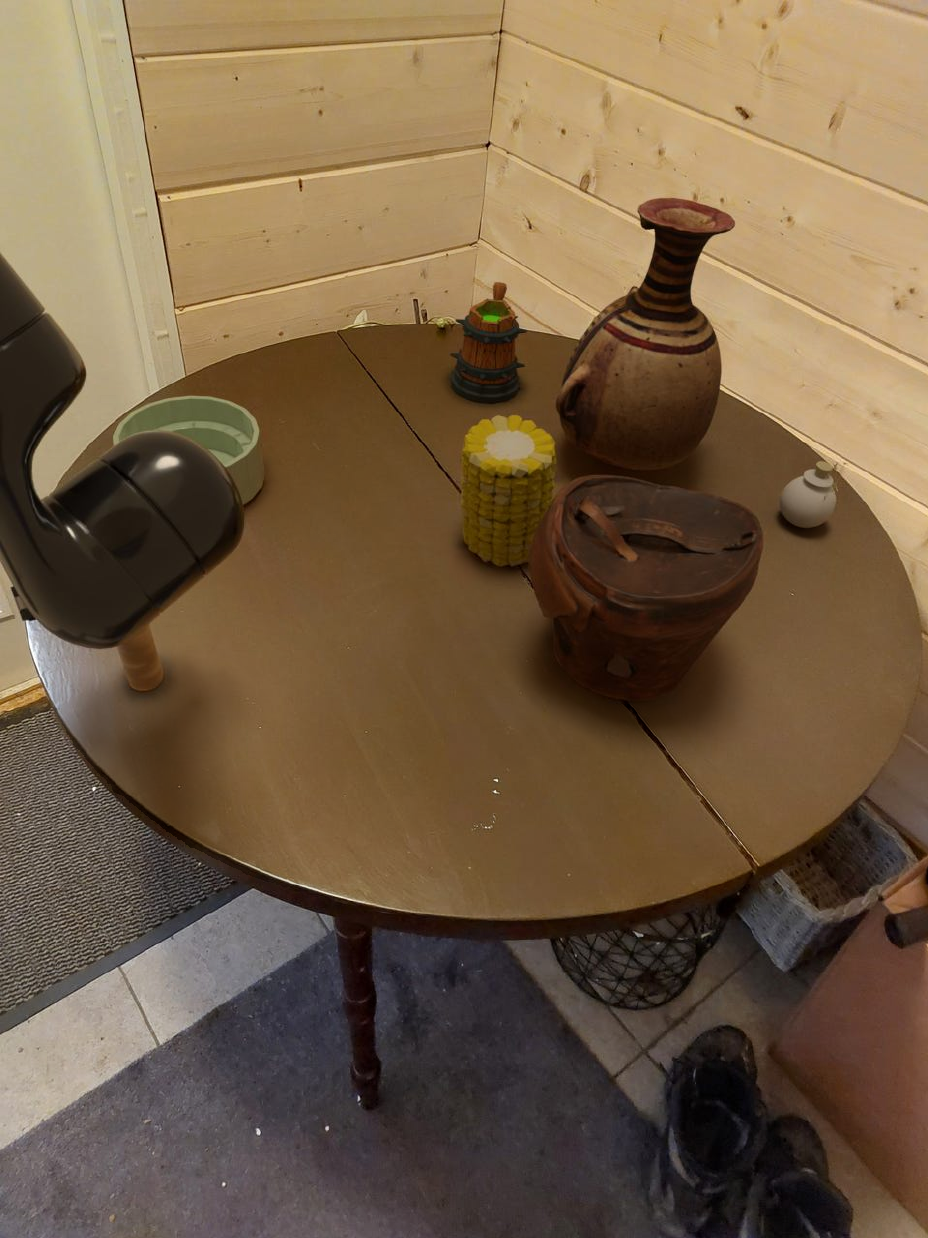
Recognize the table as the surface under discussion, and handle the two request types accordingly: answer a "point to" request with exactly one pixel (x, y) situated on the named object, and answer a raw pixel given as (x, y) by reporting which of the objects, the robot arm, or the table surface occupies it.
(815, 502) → the ornament
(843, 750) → the table surface
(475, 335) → the mug
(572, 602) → the case
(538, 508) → the food
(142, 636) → the stick
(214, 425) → the bowl
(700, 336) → the vase
